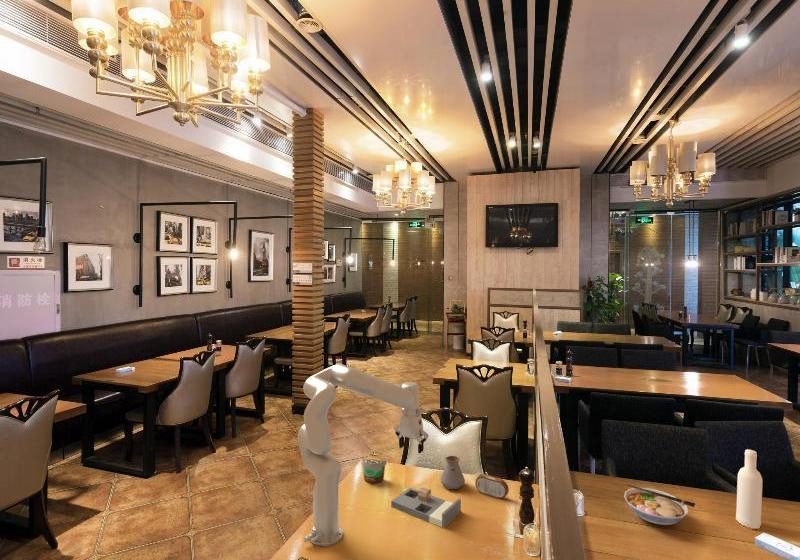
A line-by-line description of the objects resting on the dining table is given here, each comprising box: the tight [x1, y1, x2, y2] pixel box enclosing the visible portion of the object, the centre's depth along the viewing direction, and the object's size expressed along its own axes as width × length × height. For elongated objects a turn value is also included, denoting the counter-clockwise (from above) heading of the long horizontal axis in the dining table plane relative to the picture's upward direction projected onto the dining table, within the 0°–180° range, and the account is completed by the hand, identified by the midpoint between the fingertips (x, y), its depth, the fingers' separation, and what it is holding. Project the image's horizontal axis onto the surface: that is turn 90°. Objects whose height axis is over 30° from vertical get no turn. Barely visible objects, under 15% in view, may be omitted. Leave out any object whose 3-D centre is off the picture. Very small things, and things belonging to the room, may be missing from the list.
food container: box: [361, 457, 388, 485], centre depth 210 cm, size 12×6×10 cm, turn 80°
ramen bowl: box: [623, 484, 696, 526], centre depth 181 cm, size 25×23×8 cm
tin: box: [475, 473, 510, 500], centre depth 199 cm, size 15×3×8 cm, turn 58°
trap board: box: [390, 487, 462, 529], centre depth 187 cm, size 14×26×6 cm, turn 55°
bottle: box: [735, 449, 763, 529], centre depth 177 cm, size 8×8×30 cm
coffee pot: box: [439, 455, 466, 490], centre depth 202 cm, size 21×12×15 cm, turn 174°
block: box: [418, 485, 432, 502], centre depth 191 cm, size 4×4×4 cm
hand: (411, 449), depth 193 cm, fingers open, 9 cm apart
